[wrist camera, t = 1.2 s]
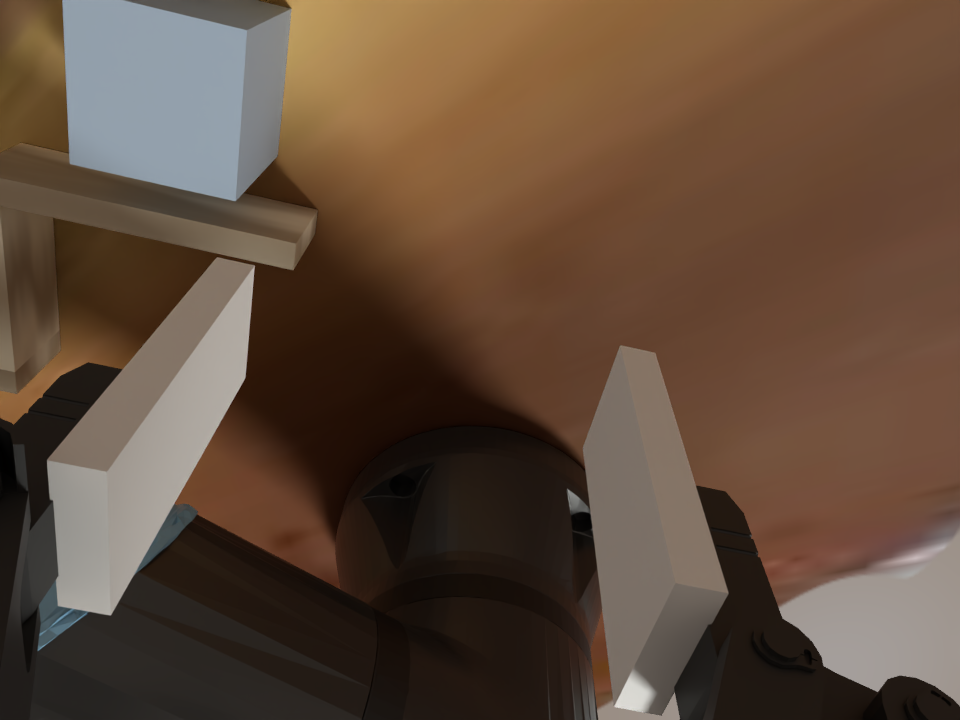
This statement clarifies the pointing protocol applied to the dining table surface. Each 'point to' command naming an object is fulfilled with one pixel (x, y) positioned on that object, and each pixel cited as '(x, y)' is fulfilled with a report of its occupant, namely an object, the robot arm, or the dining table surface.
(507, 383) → the dining table surface
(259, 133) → the block
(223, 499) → the dining table surface
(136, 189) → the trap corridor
